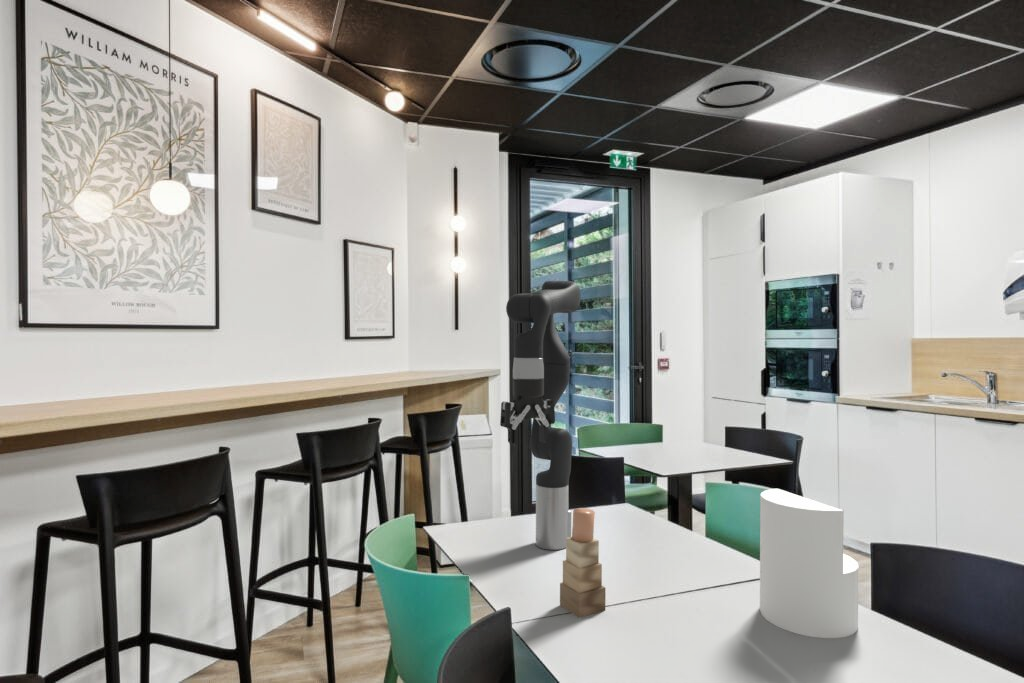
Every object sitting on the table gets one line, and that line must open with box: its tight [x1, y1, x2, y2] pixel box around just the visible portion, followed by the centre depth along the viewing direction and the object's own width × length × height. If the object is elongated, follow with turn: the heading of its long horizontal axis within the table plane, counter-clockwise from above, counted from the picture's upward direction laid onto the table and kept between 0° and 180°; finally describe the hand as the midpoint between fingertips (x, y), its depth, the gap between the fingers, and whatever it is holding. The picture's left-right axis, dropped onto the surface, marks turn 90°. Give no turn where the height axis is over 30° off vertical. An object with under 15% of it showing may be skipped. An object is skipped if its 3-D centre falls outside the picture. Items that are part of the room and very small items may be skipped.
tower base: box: [559, 581, 606, 618], centre depth 135 cm, size 7×7×5 cm
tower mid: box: [562, 559, 603, 593], centre depth 135 cm, size 6×6×5 cm
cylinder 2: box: [759, 488, 859, 639], centre depth 131 cm, size 19×19×25 cm
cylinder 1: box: [571, 507, 596, 542], centre depth 135 cm, size 5×5×6 cm
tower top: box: [565, 536, 600, 568], centre depth 135 cm, size 5×5×5 cm
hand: (528, 443), depth 150 cm, fingers open, 8 cm apart
